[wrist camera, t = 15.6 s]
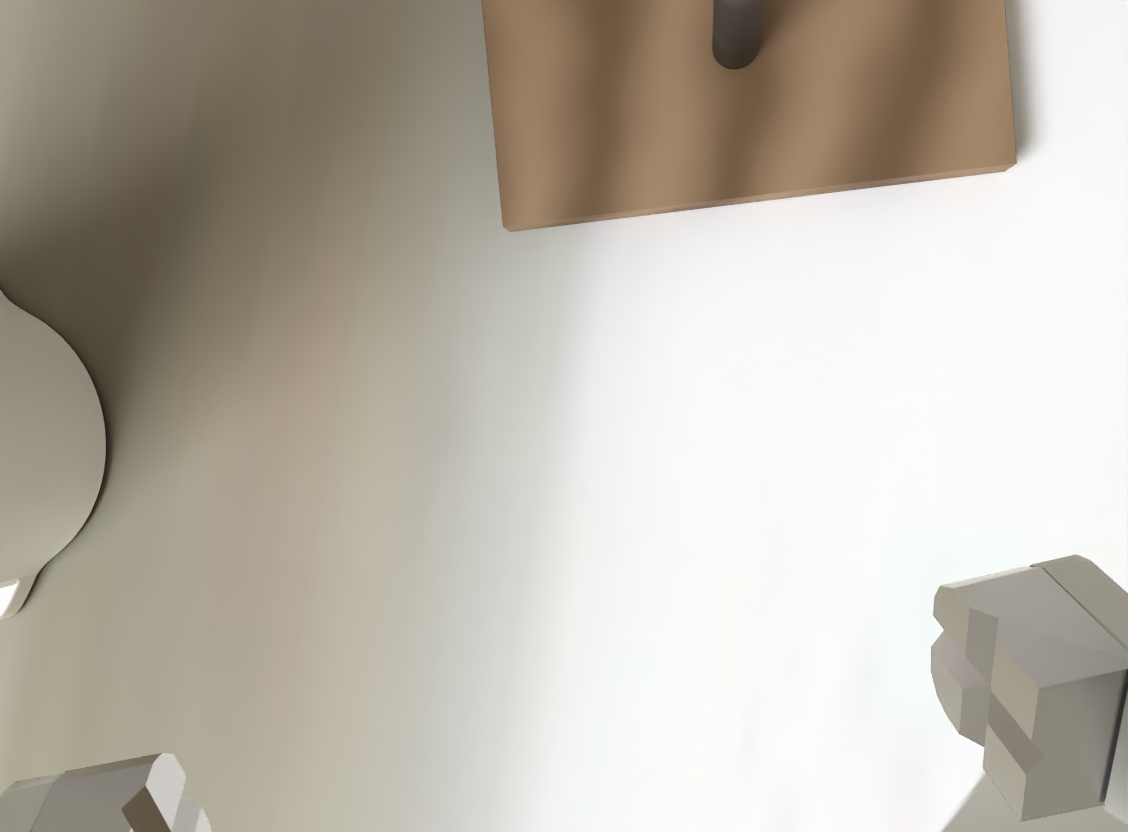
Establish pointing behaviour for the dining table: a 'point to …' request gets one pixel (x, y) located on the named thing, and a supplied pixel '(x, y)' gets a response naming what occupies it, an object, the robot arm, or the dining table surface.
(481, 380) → the dining table surface
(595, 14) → the stand
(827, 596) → the dining table surface
